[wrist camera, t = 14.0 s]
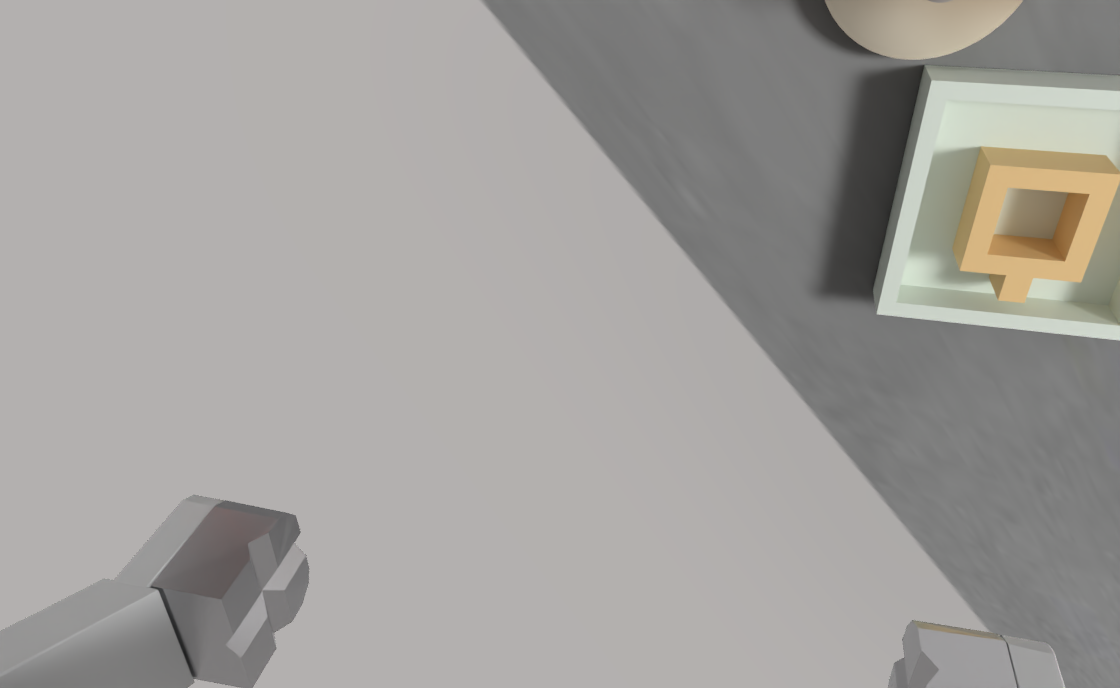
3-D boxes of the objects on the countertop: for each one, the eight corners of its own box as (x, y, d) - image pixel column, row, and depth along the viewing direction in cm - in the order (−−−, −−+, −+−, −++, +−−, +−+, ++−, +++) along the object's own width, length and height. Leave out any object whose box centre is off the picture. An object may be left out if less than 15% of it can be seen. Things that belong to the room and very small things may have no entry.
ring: (980, 146, 40) (990, 165, 38) (1106, 155, 39) (1122, 174, 37) (945, 273, 44) (952, 295, 42) (1058, 284, 43) (1071, 307, 41)
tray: (924, 64, 39) (931, 80, 37) (1215, 80, 37) (1239, 98, 35) (872, 290, 46) (876, 314, 44) (1116, 315, 44) (1132, 341, 42)
